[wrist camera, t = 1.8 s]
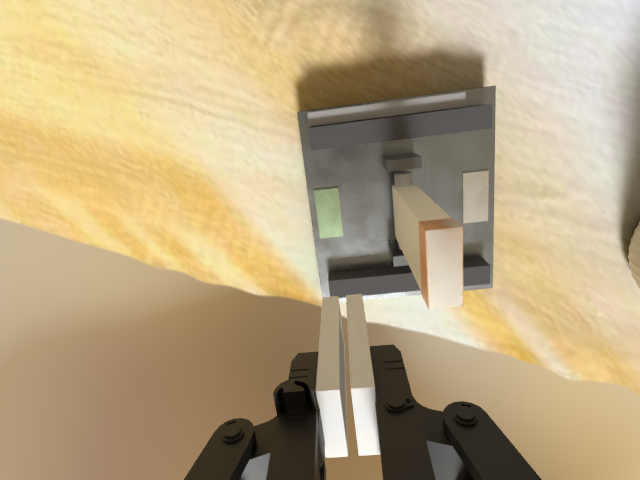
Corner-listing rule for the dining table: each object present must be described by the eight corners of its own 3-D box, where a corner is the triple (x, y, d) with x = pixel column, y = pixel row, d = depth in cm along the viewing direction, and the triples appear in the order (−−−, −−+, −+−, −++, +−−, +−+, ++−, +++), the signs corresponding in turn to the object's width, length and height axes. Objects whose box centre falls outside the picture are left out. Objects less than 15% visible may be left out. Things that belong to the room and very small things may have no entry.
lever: (390, 172, 36) (424, 212, 22) (412, 170, 36) (462, 208, 22) (395, 246, 38) (429, 324, 24) (416, 243, 38) (463, 321, 24)
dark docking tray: (308, 112, 36) (306, 112, 34) (484, 89, 35) (492, 88, 33) (330, 290, 42) (330, 298, 40) (482, 275, 41) (490, 283, 39)
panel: (300, 111, 39) (293, 111, 33) (483, 87, 38) (512, 83, 31) (323, 291, 45) (321, 319, 39) (482, 276, 44) (506, 303, 38)
